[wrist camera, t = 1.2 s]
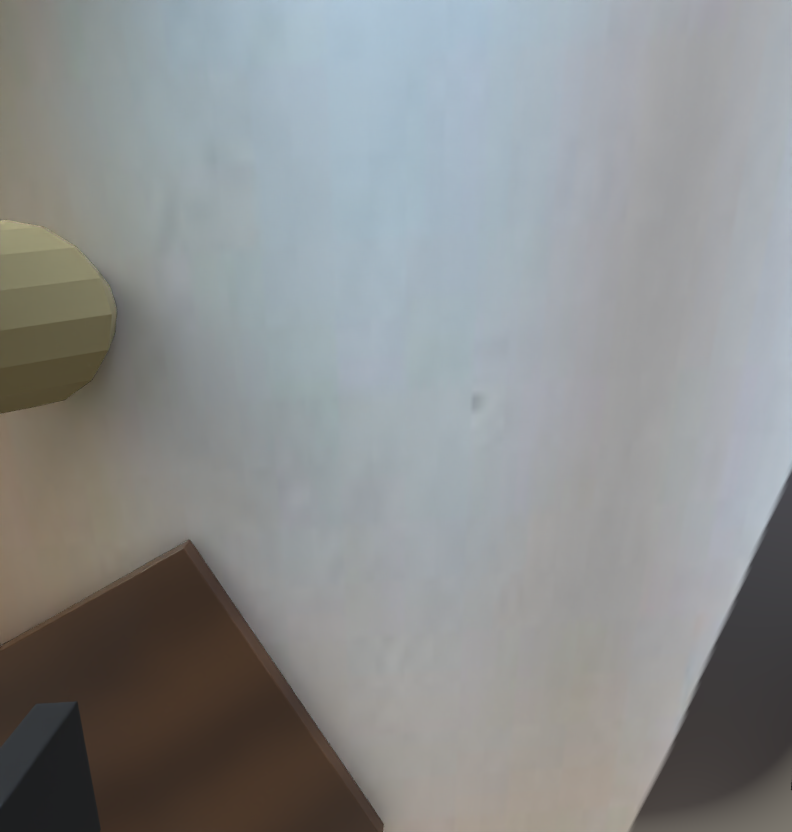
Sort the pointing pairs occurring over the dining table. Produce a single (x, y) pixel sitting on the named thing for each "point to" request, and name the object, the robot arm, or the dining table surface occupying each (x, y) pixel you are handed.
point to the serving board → (181, 710)
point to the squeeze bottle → (49, 317)
